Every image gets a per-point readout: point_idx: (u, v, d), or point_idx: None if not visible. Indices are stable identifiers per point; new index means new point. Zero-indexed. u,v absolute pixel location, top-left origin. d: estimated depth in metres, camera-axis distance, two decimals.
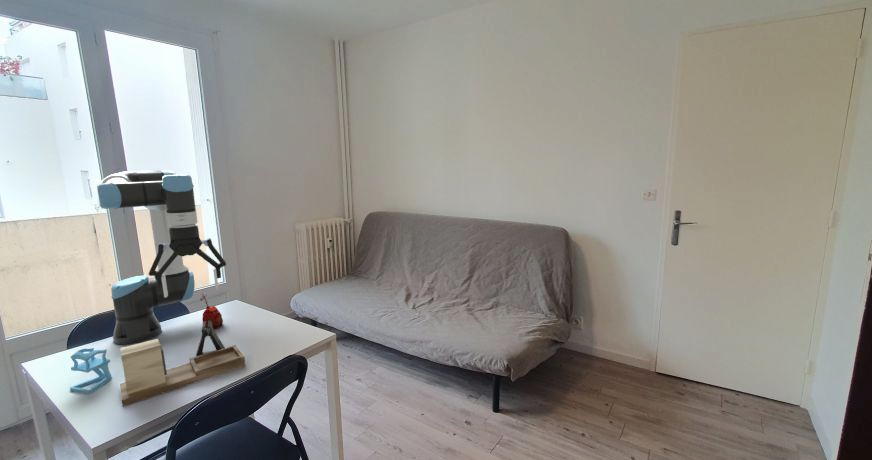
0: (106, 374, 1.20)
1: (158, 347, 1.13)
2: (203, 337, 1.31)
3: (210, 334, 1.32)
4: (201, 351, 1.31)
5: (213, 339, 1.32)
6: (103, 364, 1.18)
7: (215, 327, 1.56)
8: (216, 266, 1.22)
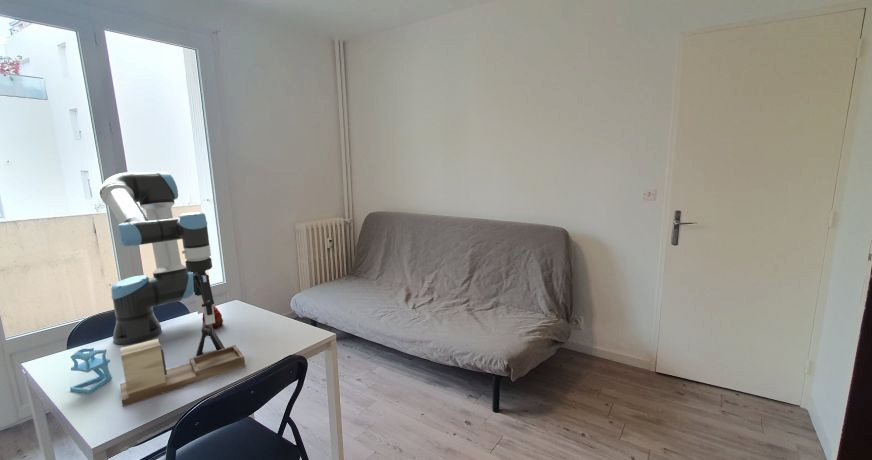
0: (106, 374, 1.20)
1: (158, 347, 1.13)
2: (203, 337, 1.31)
3: (210, 334, 1.32)
4: (201, 351, 1.31)
5: (213, 339, 1.32)
6: (103, 364, 1.18)
7: (215, 327, 1.56)
8: (203, 303, 1.25)
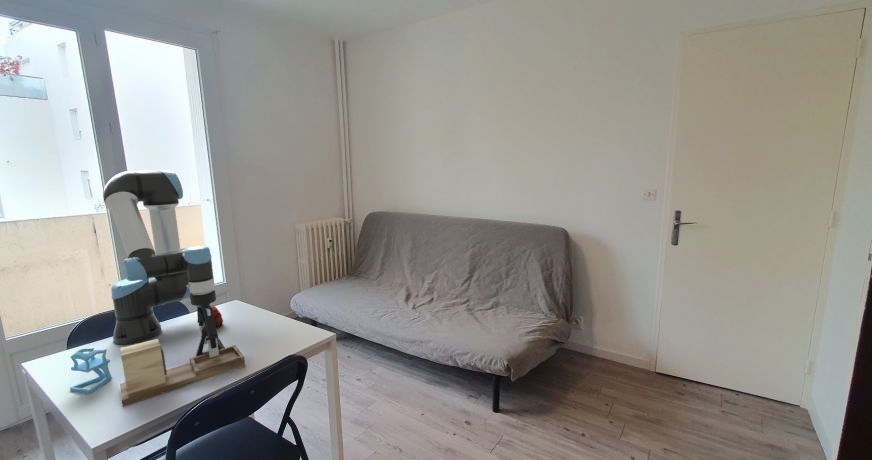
0: (106, 374, 1.20)
1: (158, 347, 1.13)
2: (203, 337, 1.31)
3: None
4: (201, 351, 1.31)
5: None
6: (103, 364, 1.18)
7: None
8: (208, 337, 1.27)
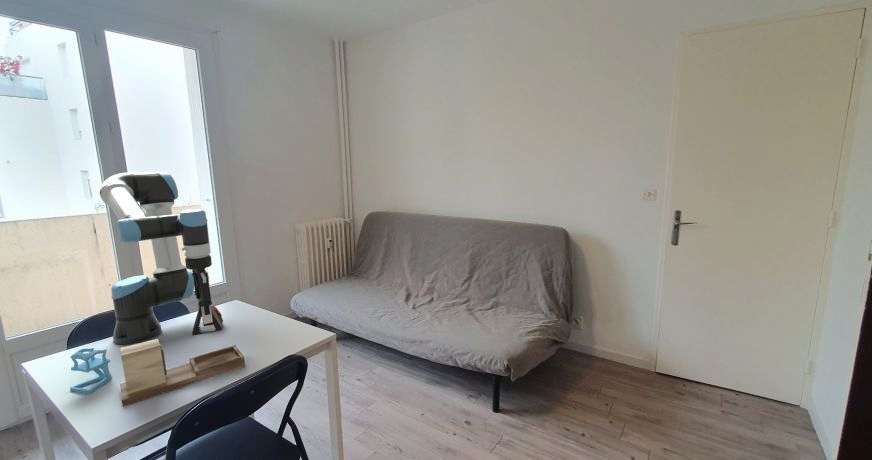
0: (106, 374, 1.20)
1: (158, 347, 1.13)
2: (200, 310, 1.30)
3: None
4: (198, 325, 1.30)
5: None
6: (103, 364, 1.18)
7: None
8: None
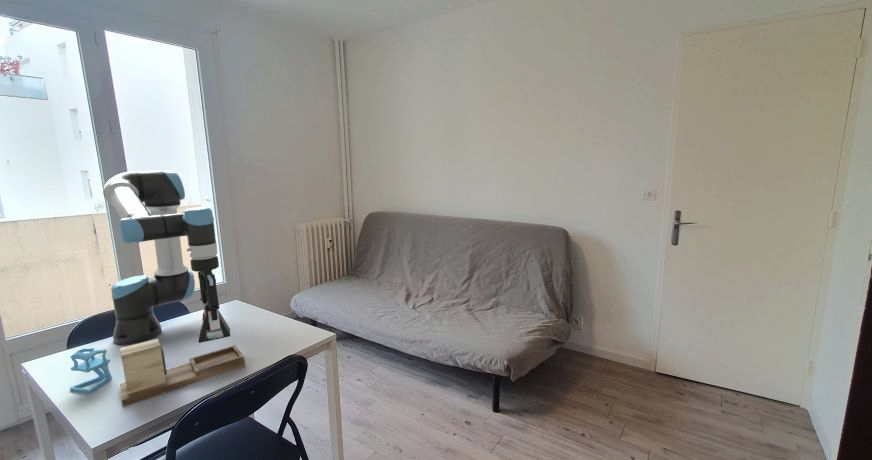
0: (106, 374, 1.20)
1: (158, 347, 1.13)
2: (207, 315, 1.21)
3: None
4: (205, 331, 1.21)
5: None
6: (103, 364, 1.18)
7: None
8: (208, 308, 1.19)
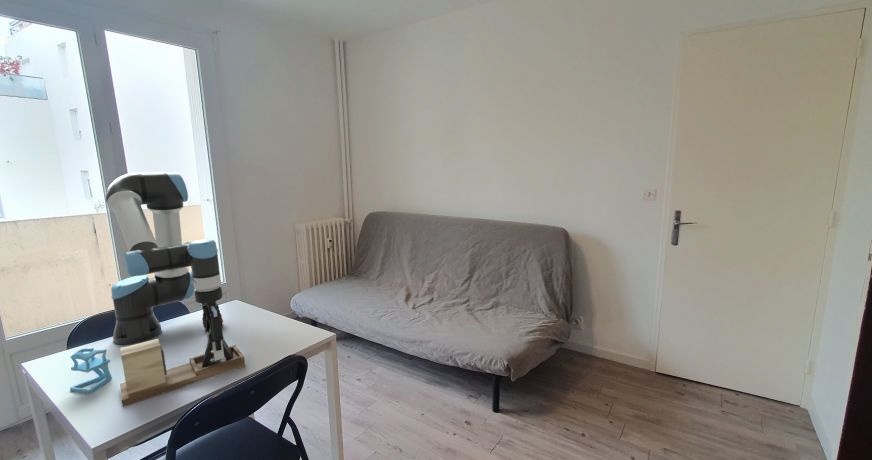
0: (106, 374, 1.20)
1: (158, 347, 1.13)
2: (210, 342, 1.22)
3: None
4: (208, 357, 1.23)
5: None
6: (103, 364, 1.18)
7: None
8: None
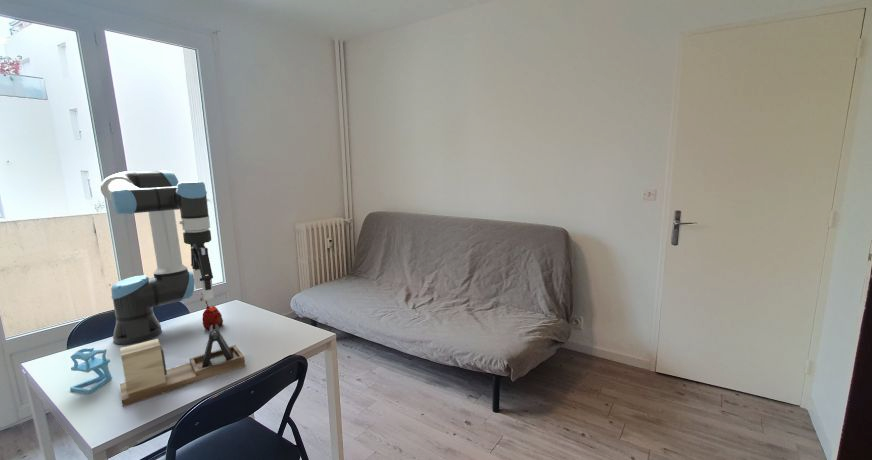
0: (106, 374, 1.20)
1: (158, 347, 1.13)
2: (210, 342, 1.22)
3: (218, 339, 1.23)
4: (208, 357, 1.23)
5: (221, 344, 1.24)
6: (103, 364, 1.18)
7: None
8: (202, 277, 1.18)
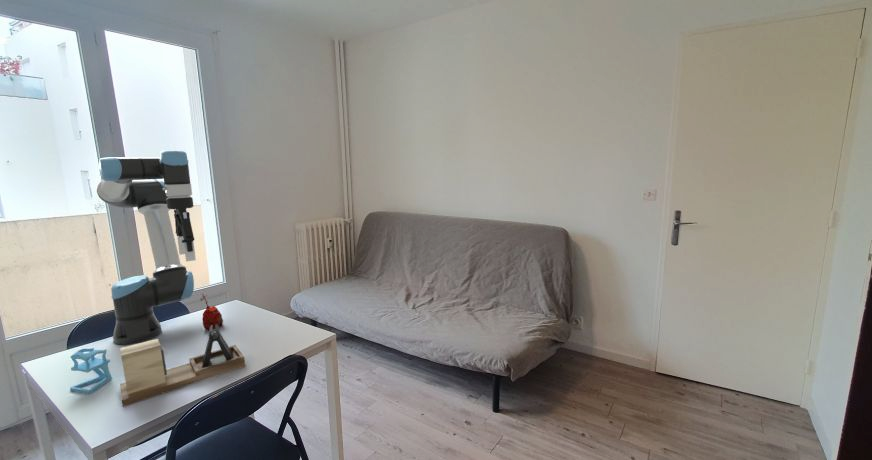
0: (106, 374, 1.20)
1: (158, 347, 1.13)
2: (210, 342, 1.22)
3: (218, 339, 1.23)
4: (208, 357, 1.23)
5: (221, 344, 1.24)
6: (103, 364, 1.18)
7: None
8: (184, 239, 1.26)
